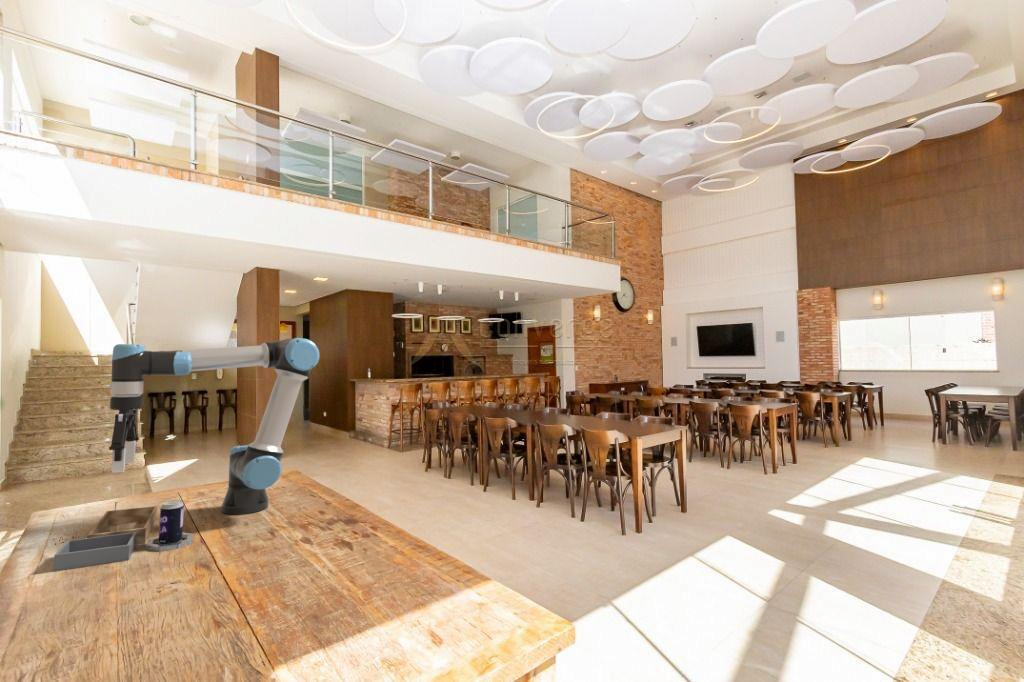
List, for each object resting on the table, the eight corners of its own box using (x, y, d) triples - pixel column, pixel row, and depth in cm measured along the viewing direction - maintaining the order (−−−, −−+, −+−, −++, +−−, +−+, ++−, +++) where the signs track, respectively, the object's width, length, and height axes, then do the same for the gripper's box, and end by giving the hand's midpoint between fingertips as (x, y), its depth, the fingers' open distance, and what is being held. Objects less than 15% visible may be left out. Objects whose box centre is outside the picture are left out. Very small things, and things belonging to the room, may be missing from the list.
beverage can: (166, 540, 145) (168, 499, 145) (186, 539, 145) (188, 499, 145) (153, 547, 139) (156, 505, 139) (174, 547, 139) (176, 505, 140)
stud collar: (193, 534, 149) (194, 530, 149) (191, 546, 140) (191, 542, 140) (150, 540, 144) (150, 536, 144) (144, 553, 134) (144, 549, 134)
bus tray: (135, 545, 140) (136, 531, 140) (128, 560, 130) (129, 545, 130) (66, 555, 132) (67, 540, 132) (53, 571, 122) (54, 555, 122)
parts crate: (156, 519, 162) (157, 505, 162) (144, 543, 141) (145, 528, 141) (106, 525, 156) (107, 511, 156) (86, 551, 135) (87, 535, 135)
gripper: (121, 392, 152) (118, 460, 151) (98, 399, 130) (95, 478, 129) (150, 392, 156) (147, 458, 155) (133, 398, 134) (130, 475, 133)
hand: (123, 467), depth 142 cm, fingers open, 13 cm apart
